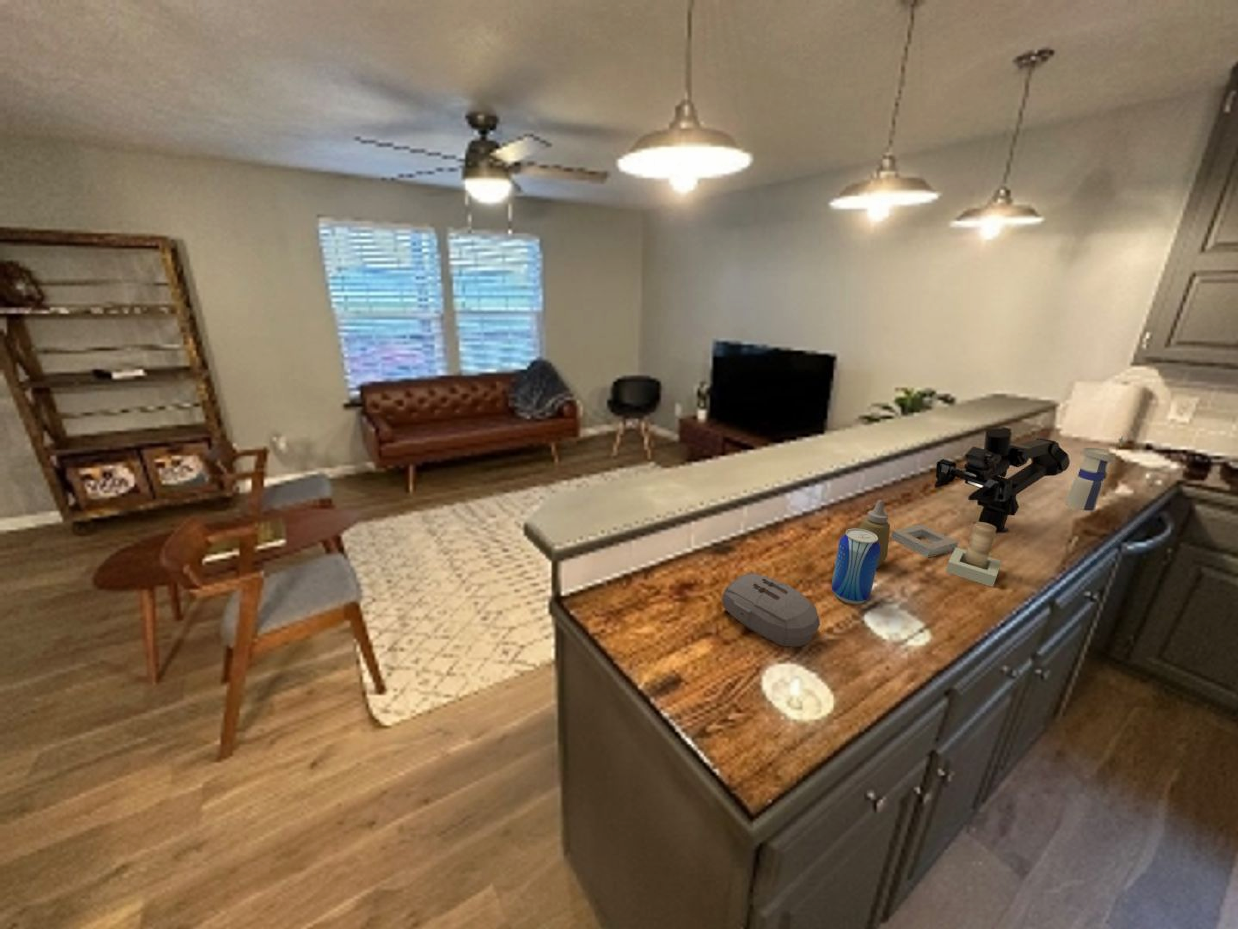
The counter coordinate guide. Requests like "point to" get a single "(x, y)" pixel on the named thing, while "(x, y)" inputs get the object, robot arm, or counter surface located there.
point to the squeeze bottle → (878, 528)
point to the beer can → (855, 566)
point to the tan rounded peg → (980, 544)
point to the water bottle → (1090, 478)
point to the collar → (973, 568)
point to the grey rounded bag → (771, 609)
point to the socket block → (928, 550)
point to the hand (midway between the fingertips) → (951, 492)
